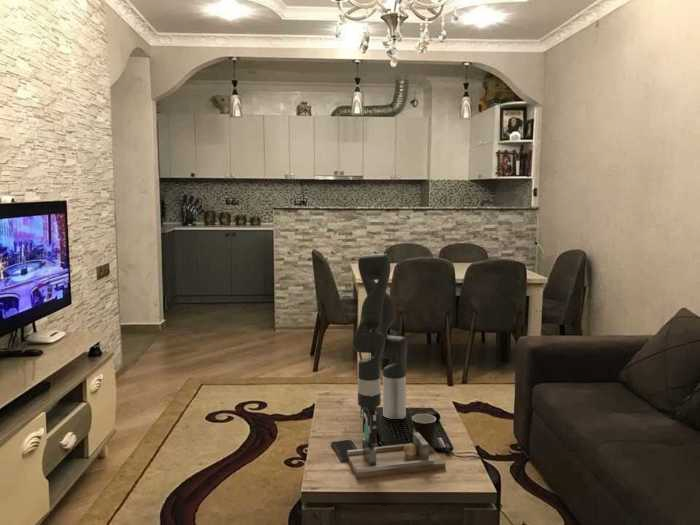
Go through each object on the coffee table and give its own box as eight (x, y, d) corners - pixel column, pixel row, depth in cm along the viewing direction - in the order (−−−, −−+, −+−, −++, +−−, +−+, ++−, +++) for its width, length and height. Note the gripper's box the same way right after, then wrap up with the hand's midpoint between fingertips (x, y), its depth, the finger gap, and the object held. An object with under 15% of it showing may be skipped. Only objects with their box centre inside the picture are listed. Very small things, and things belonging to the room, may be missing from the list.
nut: (401, 454, 204) (402, 441, 204) (414, 452, 205) (414, 440, 205) (406, 459, 200) (406, 447, 199) (418, 458, 201) (418, 446, 200)
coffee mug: (434, 451, 211) (435, 423, 210) (410, 449, 213) (410, 422, 211) (436, 437, 222) (437, 411, 221) (413, 435, 224) (413, 410, 223)
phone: (350, 439, 219) (363, 457, 205) (350, 442, 219) (363, 460, 205) (330, 442, 217) (341, 460, 203) (330, 445, 217) (341, 463, 203)
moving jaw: (361, 454, 204) (360, 418, 202) (370, 453, 204) (370, 417, 203) (368, 467, 194) (368, 430, 192) (378, 466, 195) (378, 429, 193)
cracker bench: (346, 458, 206) (346, 436, 204) (429, 449, 212) (429, 428, 211) (357, 479, 191) (357, 455, 190) (445, 468, 198) (445, 445, 197)
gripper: (353, 384, 202) (353, 430, 204) (363, 399, 188) (363, 448, 191) (374, 382, 204) (374, 428, 206) (386, 397, 190) (386, 445, 192)
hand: (369, 437), depth 198 cm, fingers open, 8 cm apart
